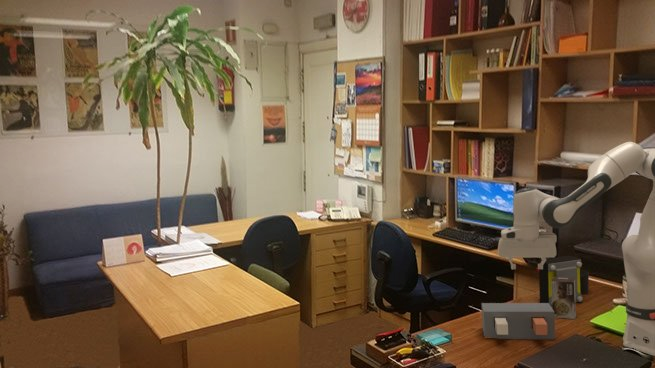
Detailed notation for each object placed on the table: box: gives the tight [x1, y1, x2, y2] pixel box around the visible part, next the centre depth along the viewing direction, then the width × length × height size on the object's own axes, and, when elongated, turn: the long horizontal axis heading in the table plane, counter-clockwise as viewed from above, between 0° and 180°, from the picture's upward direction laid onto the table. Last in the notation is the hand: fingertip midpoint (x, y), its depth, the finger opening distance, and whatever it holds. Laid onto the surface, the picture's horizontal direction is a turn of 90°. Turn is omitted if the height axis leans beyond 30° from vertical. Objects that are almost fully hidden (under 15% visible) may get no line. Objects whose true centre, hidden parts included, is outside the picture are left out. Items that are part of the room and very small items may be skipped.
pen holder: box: [581, 269, 590, 296], centre depth 263 cm, size 9×9×10 cm
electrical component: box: [536, 255, 584, 307], centre depth 250 cm, size 18×10×20 cm, turn 105°
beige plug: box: [494, 317, 508, 335], centre depth 211 cm, size 11×4×4 cm, turn 169°
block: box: [481, 302, 556, 340], centre depth 217 cm, size 10×26×11 cm, turn 79°
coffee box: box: [551, 277, 577, 320], centre depth 233 cm, size 9×6×16 cm
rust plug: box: [531, 317, 548, 335], centre depth 208 cm, size 11×4×4 cm, turn 169°
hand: (526, 269), depth 201 cm, fingers open, 8 cm apart
